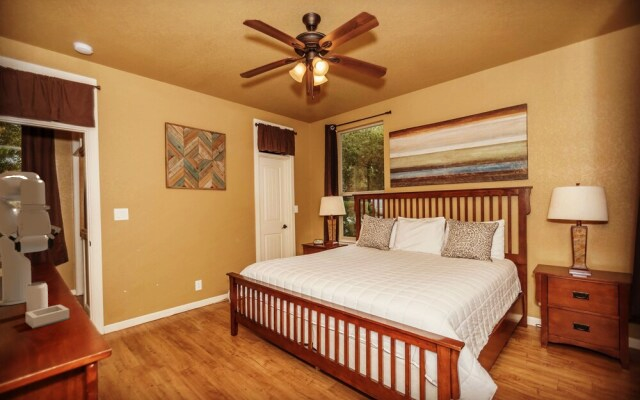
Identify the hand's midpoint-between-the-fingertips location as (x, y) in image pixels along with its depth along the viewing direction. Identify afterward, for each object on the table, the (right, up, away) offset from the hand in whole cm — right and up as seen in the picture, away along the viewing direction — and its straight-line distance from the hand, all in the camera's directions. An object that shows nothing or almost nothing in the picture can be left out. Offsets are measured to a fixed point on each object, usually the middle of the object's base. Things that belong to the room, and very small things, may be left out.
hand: (34, 250), depth 126 cm
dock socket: (+14, -26, -9) cm, 31 cm away
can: (+1, -26, 0) cm, 26 cm away
